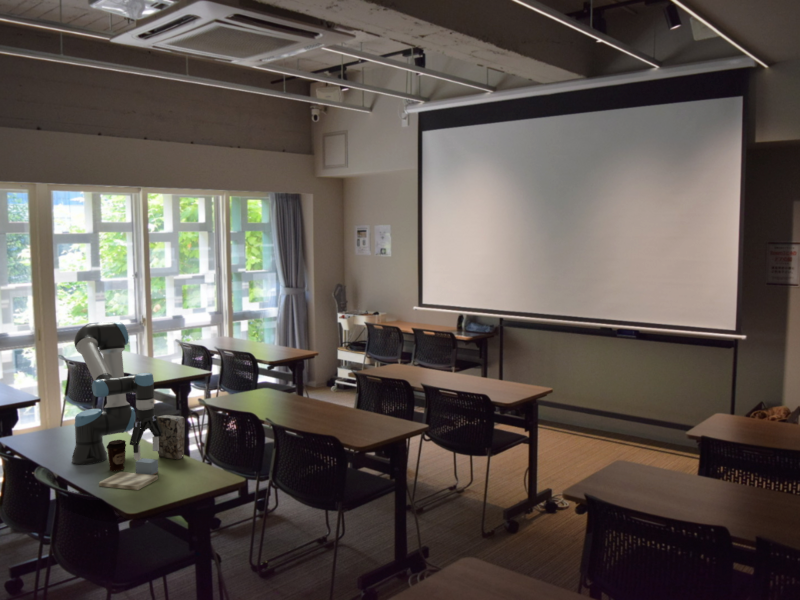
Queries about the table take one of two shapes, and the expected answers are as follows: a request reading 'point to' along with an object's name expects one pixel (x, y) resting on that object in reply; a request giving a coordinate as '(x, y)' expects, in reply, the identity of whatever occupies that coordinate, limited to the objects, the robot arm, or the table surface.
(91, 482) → the table surface
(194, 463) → the table surface
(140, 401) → the robot arm
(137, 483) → the board
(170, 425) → the stone block
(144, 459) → the block
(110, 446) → the coffee cup
